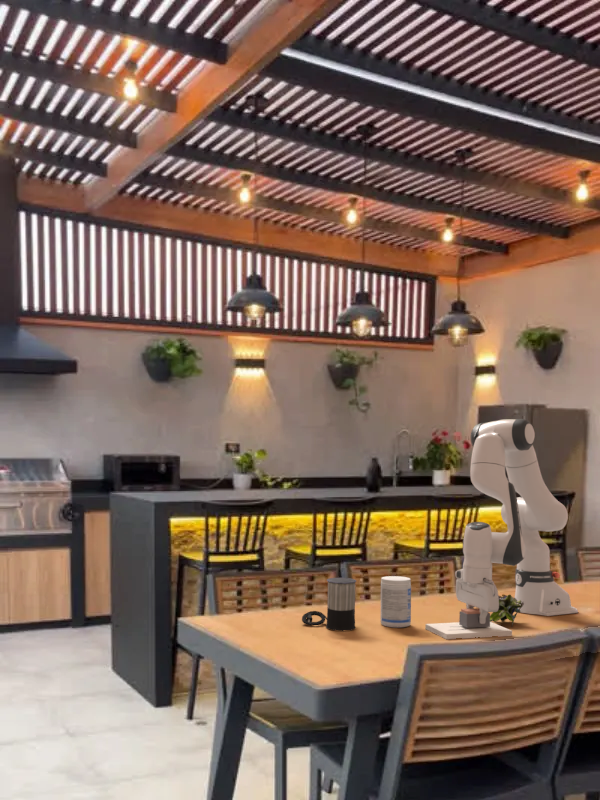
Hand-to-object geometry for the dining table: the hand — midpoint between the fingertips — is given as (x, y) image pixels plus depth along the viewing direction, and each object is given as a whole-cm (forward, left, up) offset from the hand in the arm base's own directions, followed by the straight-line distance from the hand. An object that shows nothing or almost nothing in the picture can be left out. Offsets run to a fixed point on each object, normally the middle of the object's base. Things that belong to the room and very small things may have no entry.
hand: (476, 621), depth 257 cm
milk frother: (+42, -17, -4) cm, 46 cm away
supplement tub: (+21, -14, -4) cm, 25 cm away
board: (+3, 0, -3) cm, 4 cm away
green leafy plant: (-15, -8, -4) cm, 18 cm away
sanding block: (+1, 0, -1) cm, 1 cm away
